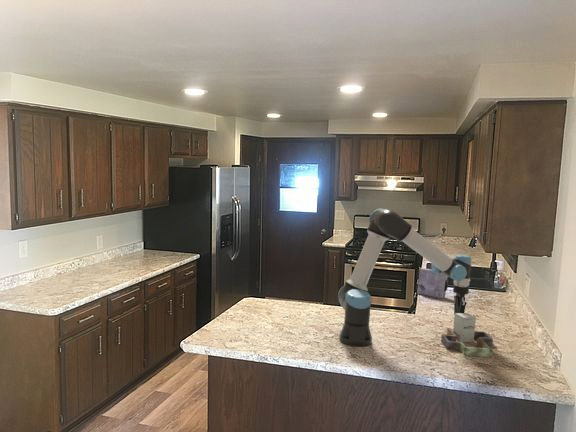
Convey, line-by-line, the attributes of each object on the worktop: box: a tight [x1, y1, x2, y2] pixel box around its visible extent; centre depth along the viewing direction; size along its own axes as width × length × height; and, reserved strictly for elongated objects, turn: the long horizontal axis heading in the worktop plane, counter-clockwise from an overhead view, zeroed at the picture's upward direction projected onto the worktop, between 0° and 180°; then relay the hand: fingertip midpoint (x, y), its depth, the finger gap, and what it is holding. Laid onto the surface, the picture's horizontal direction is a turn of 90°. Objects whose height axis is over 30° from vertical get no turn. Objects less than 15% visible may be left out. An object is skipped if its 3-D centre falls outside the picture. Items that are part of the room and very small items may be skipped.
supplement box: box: [452, 312, 477, 343], centre depth 237 cm, size 7×7×13 cm
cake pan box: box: [416, 267, 449, 299], centre depth 323 cm, size 19×5×18 cm, turn 58°
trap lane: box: [440, 328, 494, 358], centre depth 229 cm, size 24×27×4 cm
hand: (457, 330), depth 246 cm, fingers closed
